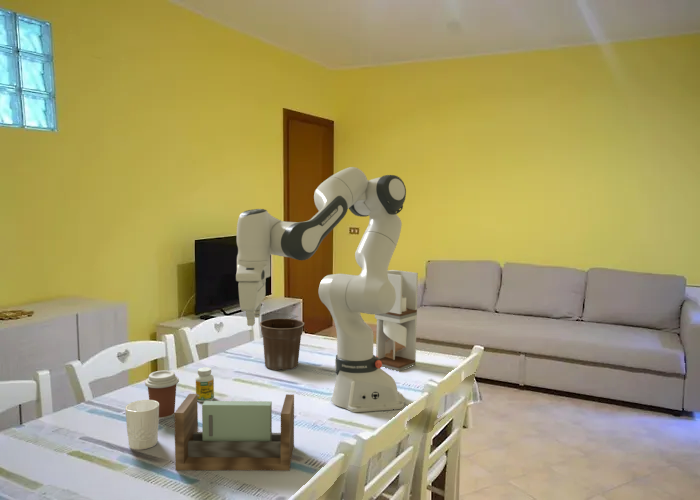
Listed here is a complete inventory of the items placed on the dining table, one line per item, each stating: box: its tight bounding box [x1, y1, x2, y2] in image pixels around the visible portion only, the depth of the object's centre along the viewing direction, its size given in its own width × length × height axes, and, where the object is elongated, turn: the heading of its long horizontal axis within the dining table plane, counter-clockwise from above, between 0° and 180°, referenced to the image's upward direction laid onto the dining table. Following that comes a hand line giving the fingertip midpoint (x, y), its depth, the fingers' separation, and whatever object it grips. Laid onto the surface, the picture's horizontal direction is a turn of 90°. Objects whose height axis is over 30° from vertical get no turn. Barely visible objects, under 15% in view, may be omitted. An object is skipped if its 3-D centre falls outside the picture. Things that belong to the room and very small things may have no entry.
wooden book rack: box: [173, 393, 295, 472], centre depth 129 cm, size 26×12×14 cm, turn 91°
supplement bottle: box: [195, 366, 215, 403], centre depth 166 cm, size 5×5×10 cm
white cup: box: [125, 399, 160, 451], centre depth 136 cm, size 8×8×10 cm
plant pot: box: [259, 317, 305, 371], centre depth 200 cm, size 16×16×16 cm
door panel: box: [201, 400, 273, 441], centre depth 129 cm, size 16×3×12 cm, turn 91°
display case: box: [374, 269, 419, 372], centre depth 202 cm, size 11×11×35 cm
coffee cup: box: [144, 370, 180, 421], centre depth 154 cm, size 9×9×12 cm
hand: (254, 321), depth 146 cm, fingers open, 8 cm apart
